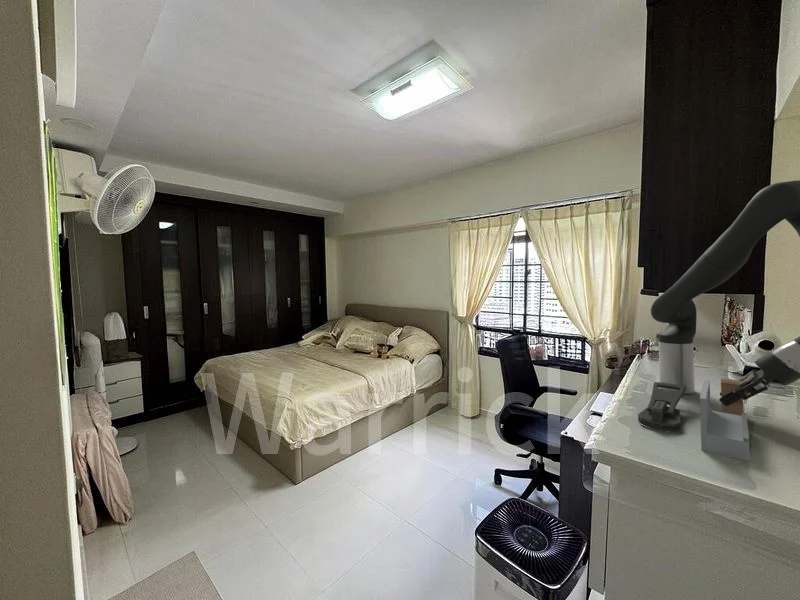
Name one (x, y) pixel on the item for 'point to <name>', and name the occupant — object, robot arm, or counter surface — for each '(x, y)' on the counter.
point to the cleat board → (722, 430)
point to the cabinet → (726, 388)
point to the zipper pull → (663, 408)
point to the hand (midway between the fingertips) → (722, 399)
